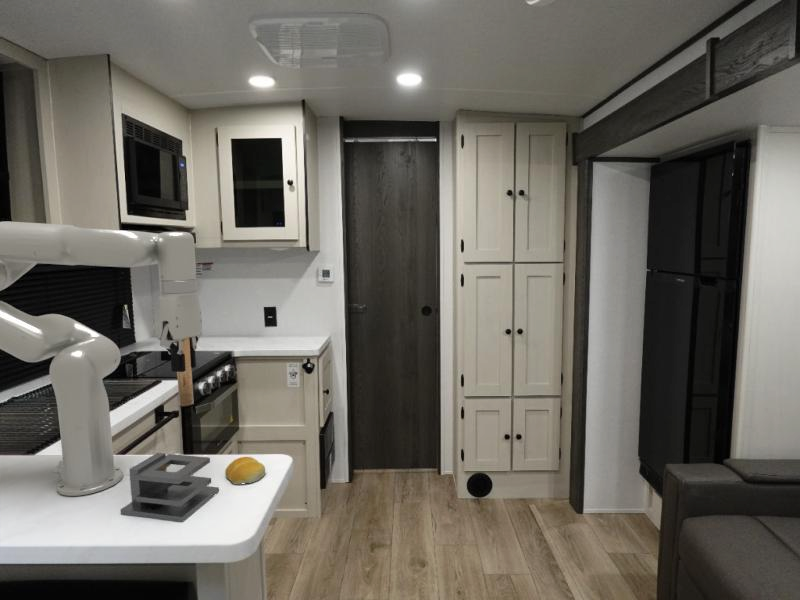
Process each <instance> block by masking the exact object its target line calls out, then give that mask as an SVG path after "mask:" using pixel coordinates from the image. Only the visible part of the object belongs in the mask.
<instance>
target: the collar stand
mask: <svg viewBox="0 0 800 600" xmlns="http://www.w3.org/2000/svg"><path fill="white" fill-rule="evenodd" d="M210 462H211V458H210V457H208V456H197V455H185V454H173V453H167V454H166V453H161V452H157V453H155V454H153V455H151V456H150V457H148V458H146V459H145V460H143V461H142V462H140V463H137V464H136V465H134V466H133V467H131V468H129V472H128V473H129V482H130V484H129V485H130V495H131V502H129V503H128V504H126V505H124V507H122V508H120V515H123V516H132V517H138V518H139V517H140V518H147V519H153V520H155V519H156V520H161V521H162V520H163V521H172V522H180V523H183V522H185V520H187V519H189V518H190V517H191V516H192V515H193V514H194V513H195V512H197V511H198V510H199V509H200V508H201V507H203V506H205V504H206V503H207V502H208V501H210V500H211V499H212V498H213V497H215V496H216V495H217V494H219V492H220V488H219V486H209V485H210V484H211V483H212V478H211V477H207V476H206V477H205V476H195V474H196V473H197V472H198V471H200V470H201V469H203V468H204V467H206V466H207V465H208V464H210ZM171 465H175V466H183V467H181V468H180V469H178V470H177V471H176V472H174V471H167V468H168V467H169V466H171ZM215 494H216V495H215ZM214 495H215V496H214Z"/></svg>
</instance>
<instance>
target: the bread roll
mask: <svg viewBox="0 0 800 600" xmlns="http://www.w3.org/2000/svg"><path fill="white" fill-rule="evenodd" d="M265 474H266V466H265V465H264V464H263V463H261V462H260V461H258V460H257V459H256V458H254V457H252V456H241V457H237V458H235V459H234V460H232V461H231V463H229V464H228V465H227V467H226V469H225V474H224V475H225V476H226V478H227V479H228V480H229V481H230V482H231V483H232V484H233V483H234V484H233V485H243V484H242V483H250V484H253V483H252V482H254V483H256V482H258V481H259V479H260V480H261V479H262V478H264V475H265ZM257 480H258V481H257ZM255 481H256V482H255Z"/></svg>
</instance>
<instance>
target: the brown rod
mask: <svg viewBox="0 0 800 600" xmlns="http://www.w3.org/2000/svg"><path fill="white" fill-rule="evenodd" d="M174 344H175V345H176V346H177V343H174ZM182 344H183V352H182V354H185V367H186V370H185V371H184V372H176V376H177V390H178V405H179V406H180V407H188V406H192V405H194V404H195V403H194V388H193V387H194V386H193V371H192V368H191V354H190V338H187V339H184V340H182Z"/></svg>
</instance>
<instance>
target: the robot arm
mask: <svg viewBox="0 0 800 600" xmlns="http://www.w3.org/2000/svg"><path fill="white" fill-rule="evenodd" d="M195 251H196V248H195V239H194V236H193V234H192V233H190V232H186V231H163V232H160V233H155V232H150V231H149V232H148V231H139V230H123V229H121V230H120V229H101V228H85V227H77V226H75V225H72V224H61V223H60V224H59V223H42V222H41V223H40V222H26V221H25V222H23V221H10V220H9V221H7V220H6V221H0V292H1V291H3V290H5V289H7V288H8V287H10V286H11V285H12V284H14V283H15V282H16V281H17V280H19V279H20V278H21V277H23V275H25V274H27V273H28V272H29V271H30V270H31V269H33V268H34V267H35V266H36V265H37V264H47V265H48V264H50V265H63V266H64V265H65V266H79V265H80V266H81V265H82V266H91V267H92V266H93V267H95V266H96V267H112V268H113V267H114V268H135V267H147V266H152V265H158V280H159V291H160V295H159V296H158V297H157V304H156V336H157V337H156V338H157V340H158V341H160V342H159V346H160V347H161V348H164V349H165V350H167V352H168V353H167V354H168V355H169V356H170V366H171V371H172V372H176V373H177V372H184V371H185V370H186V367H185V354H182V352H183V344H182V340H184V339H187V338H190V354H191V369H195V368H196V367H197V360H196V359H197V356H196V350H197V349H198V346H197V344H198V342H199V340H200V339H201V337H202V336H203V332H202V331H203V319H202V309H201V304H200V298H199V295H198V282H197V281H198V280H197V269H196V267H197V265H196V252H195ZM175 343H177V346H176V345H175ZM0 350H2V351H4V352H5V353H8V354H10V355H11V356H13V357H15V358H17V359H19V360H20V361H24V362H26V363H39V362H42V361H44V360H45V361H46V360H48V359H50V358H53V359H52V360H51V363H50V365H49V378H50V383H51V385H52V388H53V391H54V396H55V400H56V406H57V415H58V423H59V424H58V425H59V433H60V443H61V453H62V454H61V455H62V460H60V461H58V463H57V466H56V467H54V468H53V469H52V473H53V474H59V475H60V477H61V480H59V481H58V483H56V484H57V485H56V490H57V493H58V494H60V495H63V496H67V497H78V496H85V495H90V494H94V493H98V492H100V491H101V492H102V491H103V490H106V489H109V488H112V487H113V486H114V485H117V483H119V482H120V481H121V479H123V476H124V472H123V469H122V468H120V467H118V466H116V465H115V461H114V449H113V437H112V425H111V414H110V403H109V399H108V398H109V397H108V393H107V391H106V387H105V385H104V382H103V379H104V378H106V377H107V376H109V375H110V374H112V373H113V372H115V370H116V369H118V367H119V365H120V363H121V358H122V355H121V351H120V349H119V347H118V345H117V343H115V342H114V341H113V340H111V338H109V337H107V336H105V335H103V334H102V333H99V332H97V331H96V330H94V329H93V328H90V327H88V326H87V325H85V324H83V323H81V322H79V321H77V320H76V319H74V318H71V317H68V316H67V315H66V316H65V315H62V314H57V313H49V314H48V313H47V314H43V315H38V316H36V315H31V314H28V313H26V312H24V311H21V310H20V309H17V308H16V307H14V306H12V305H11V304H8V303H7V302H6V301H5V302H4V301H2V300H0Z"/></svg>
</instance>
